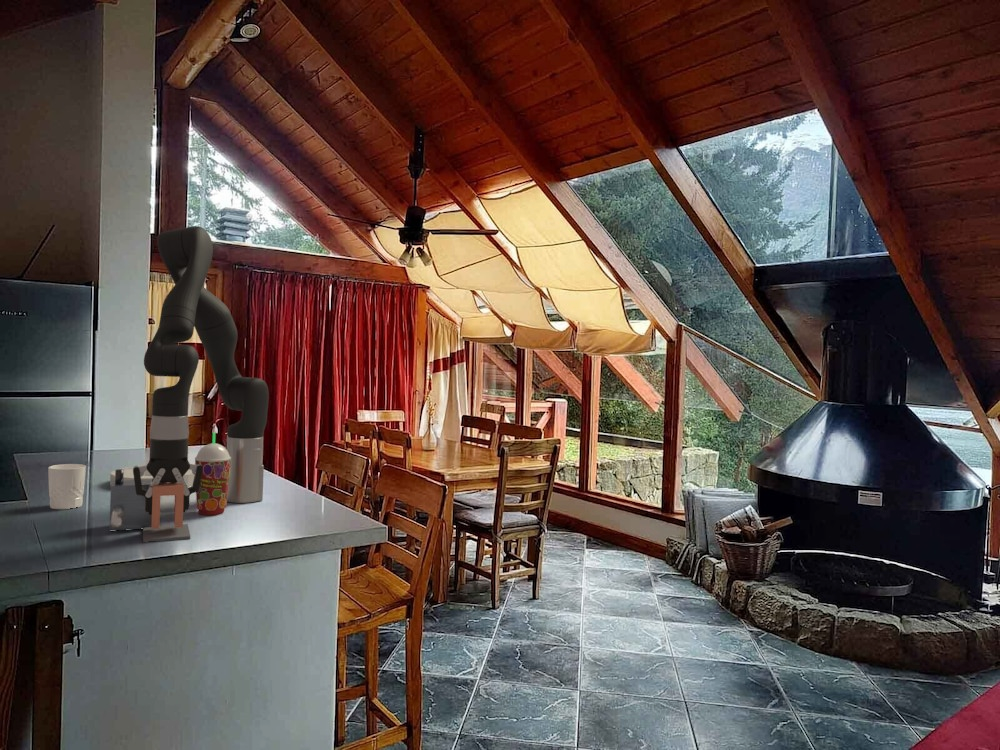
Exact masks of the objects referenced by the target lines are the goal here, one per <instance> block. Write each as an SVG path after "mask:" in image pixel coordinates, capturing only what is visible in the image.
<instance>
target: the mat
mask: <svg viewBox="0 0 1000 750" xmlns="http://www.w3.org/2000/svg"><path fill="white" fill-rule="evenodd" d="M190 533H191V532H190V528H189V525H188V523H183V527H175V524H167V525H166V524H165V525H160V526H159V529H152V528H151V526H149V527H143V530H142V543H147V542H146V541H156V542H165V541H164V540H169V541H180V539H183V540H191V534H190ZM144 541H145V542H144Z"/></svg>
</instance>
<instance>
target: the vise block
mask: <svg viewBox="0 0 1000 750" xmlns="http://www.w3.org/2000/svg"><path fill="white" fill-rule="evenodd" d="M115 470H116V471H115V481H112V484H111V486H110V500H109V501H110V502H109V505H110V506H109V531H110V530H126V529H141V528H143V527H149V526H151V518H152V515H149V512H146V511H145V501H146V498H145V497H144V496H142V495H137V494H136V489H135V482H134V480H128V481H123V478H124V470H123V469H121V468H117V469H115ZM151 481H152V480H141V483H142V488H143V489H146V490H147V488H148V487H149V485H150V483H151Z"/></svg>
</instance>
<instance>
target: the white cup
mask: <svg viewBox="0 0 1000 750" xmlns="http://www.w3.org/2000/svg"><path fill="white" fill-rule="evenodd" d="M47 469H48V495H49V508H50V509H53V510H70V508H73V509H76V507H78V508H80V507H83V499H84V497H83V496H84V493H85V483H86V470H87V465H85V464H82V463H81V464H79V463H65V464H64V463H62V464H54V465H51V466H48V467H47Z"/></svg>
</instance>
